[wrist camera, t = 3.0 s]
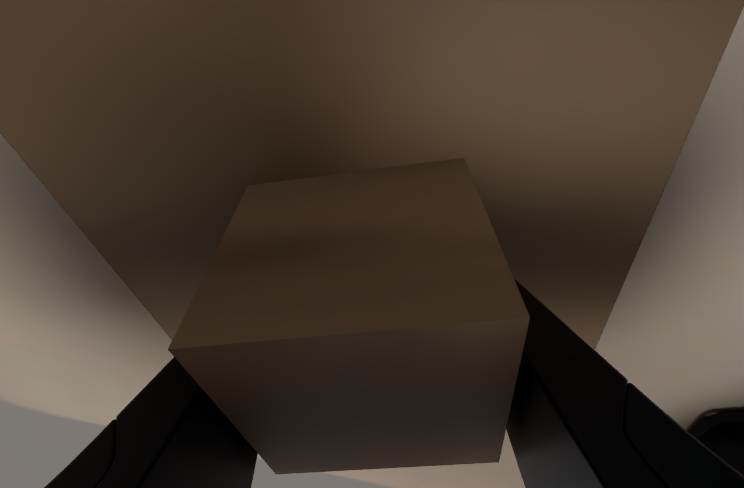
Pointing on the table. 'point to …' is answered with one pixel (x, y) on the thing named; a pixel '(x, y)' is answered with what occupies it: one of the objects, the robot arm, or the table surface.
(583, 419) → the robot arm
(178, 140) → the lid
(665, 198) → the table surface
